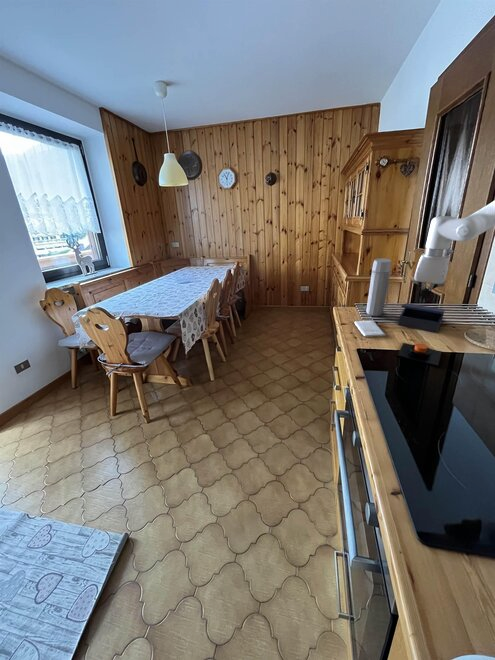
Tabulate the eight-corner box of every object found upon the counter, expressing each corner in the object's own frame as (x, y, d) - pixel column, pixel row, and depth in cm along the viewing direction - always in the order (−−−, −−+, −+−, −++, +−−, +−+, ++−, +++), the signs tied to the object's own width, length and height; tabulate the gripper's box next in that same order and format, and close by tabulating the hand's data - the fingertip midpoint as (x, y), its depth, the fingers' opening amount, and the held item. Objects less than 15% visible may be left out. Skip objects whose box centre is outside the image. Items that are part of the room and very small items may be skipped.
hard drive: (373, 323, 123) (385, 337, 112) (354, 324, 123) (364, 338, 112) (373, 320, 122) (385, 333, 111) (354, 321, 122) (364, 334, 111)
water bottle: (361, 313, 133) (369, 260, 122) (373, 309, 136) (381, 257, 125) (378, 319, 126) (387, 264, 114) (390, 315, 129) (400, 261, 117)
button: (427, 349, 98) (428, 345, 97) (425, 354, 95) (426, 349, 94) (415, 346, 100) (416, 342, 99) (413, 351, 97) (414, 346, 96)
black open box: (437, 333, 112) (440, 323, 110) (397, 325, 120) (399, 315, 118) (441, 320, 122) (444, 311, 120) (404, 313, 130) (406, 305, 128)
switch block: (440, 354, 99) (442, 347, 97) (437, 368, 92) (439, 361, 90) (402, 345, 105) (404, 338, 104) (396, 358, 98) (398, 351, 97)
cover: (443, 314, 108) (443, 312, 108) (401, 307, 116) (401, 305, 116) (444, 311, 120) (444, 309, 119) (406, 305, 128) (406, 303, 127)
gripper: (461, 251, 103) (447, 299, 111) (415, 248, 111) (405, 292, 119) (459, 256, 97) (445, 305, 106) (411, 252, 106) (401, 298, 114)
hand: (424, 298), depth 113 cm, fingers closed
